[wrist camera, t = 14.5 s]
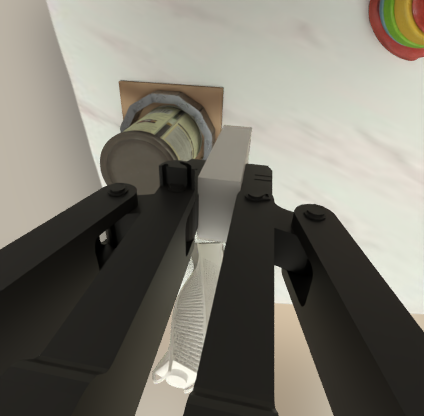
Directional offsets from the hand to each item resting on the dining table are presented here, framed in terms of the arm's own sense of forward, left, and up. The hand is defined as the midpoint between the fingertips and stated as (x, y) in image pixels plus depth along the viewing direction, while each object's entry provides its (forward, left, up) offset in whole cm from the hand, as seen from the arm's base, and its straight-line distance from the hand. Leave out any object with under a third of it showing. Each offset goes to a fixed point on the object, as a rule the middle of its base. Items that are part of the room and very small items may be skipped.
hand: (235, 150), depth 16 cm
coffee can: (+10, -13, -30) cm, 34 cm away
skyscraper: (+34, -6, -31) cm, 46 cm away
